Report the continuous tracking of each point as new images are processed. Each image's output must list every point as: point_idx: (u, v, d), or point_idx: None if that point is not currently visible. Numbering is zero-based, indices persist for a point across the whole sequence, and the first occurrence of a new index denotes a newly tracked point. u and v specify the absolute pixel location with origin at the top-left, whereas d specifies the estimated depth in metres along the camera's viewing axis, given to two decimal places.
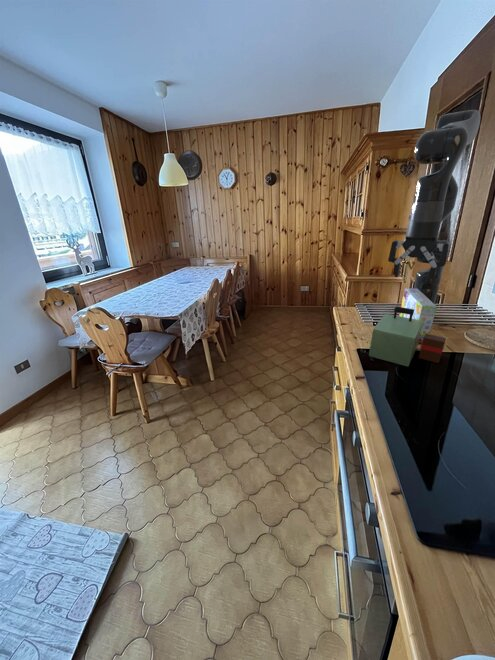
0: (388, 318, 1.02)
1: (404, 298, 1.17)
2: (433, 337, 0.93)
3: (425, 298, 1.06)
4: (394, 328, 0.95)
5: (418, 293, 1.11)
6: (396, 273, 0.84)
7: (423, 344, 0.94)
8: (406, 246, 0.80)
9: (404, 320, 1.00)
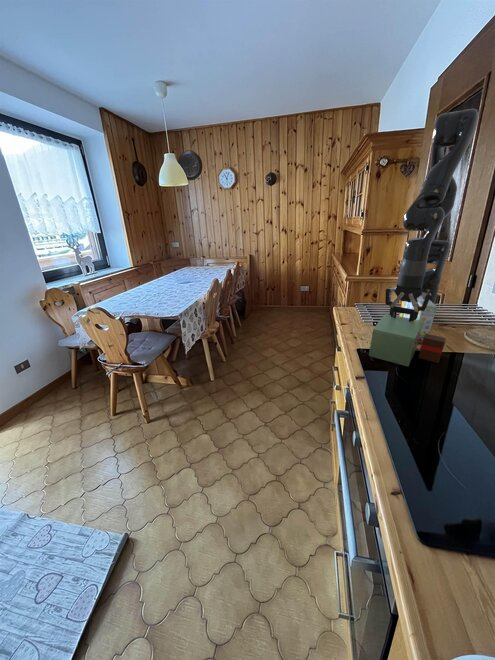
0: (388, 318, 1.02)
1: None
2: (433, 337, 0.93)
3: None
4: (394, 328, 0.95)
5: None
6: (392, 314, 1.01)
7: (423, 344, 0.94)
8: (397, 292, 0.97)
9: (404, 320, 1.00)
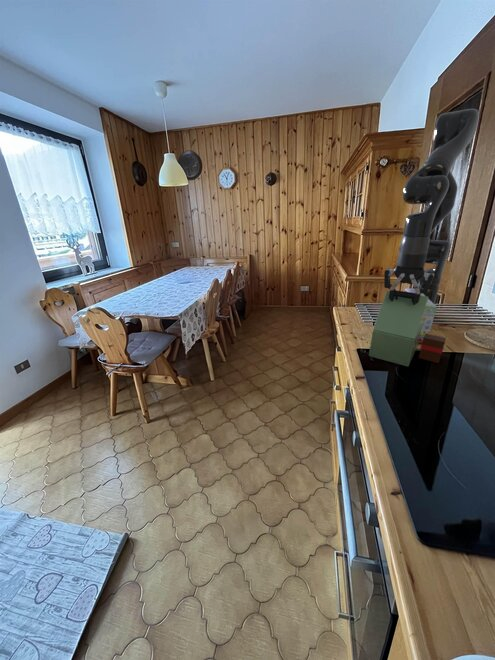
0: (390, 302, 0.96)
1: None
2: (433, 337, 0.93)
3: None
4: (394, 323, 0.93)
5: None
6: (391, 298, 0.93)
7: (423, 344, 0.94)
8: (397, 273, 0.89)
9: (406, 302, 0.94)
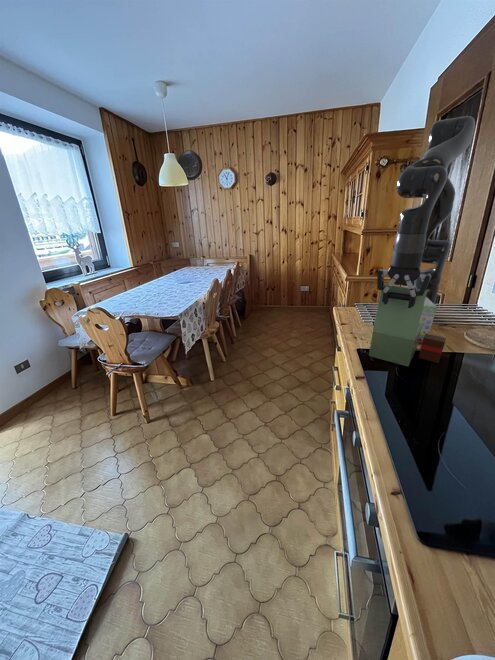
0: None
1: None
2: (433, 337, 0.93)
3: (425, 298, 1.06)
4: (393, 322, 0.91)
5: None
6: (385, 301, 0.86)
7: (423, 344, 0.94)
8: (391, 274, 0.82)
9: None
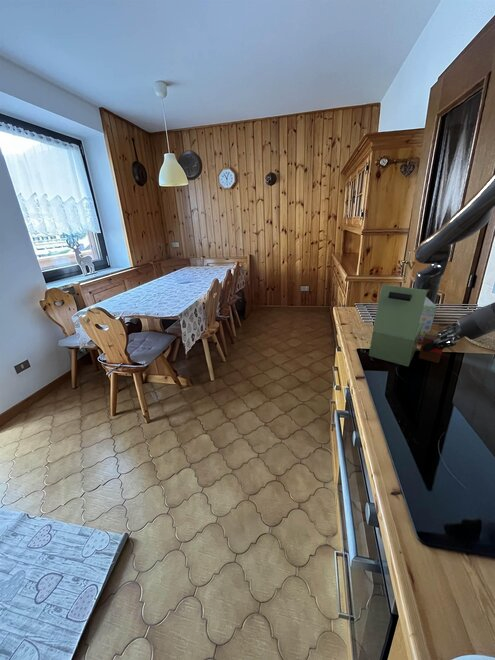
0: (386, 298, 0.91)
1: None
2: (433, 337, 0.93)
3: (425, 298, 1.06)
4: (393, 322, 0.91)
5: None
6: None
7: (423, 344, 0.94)
8: None
9: None
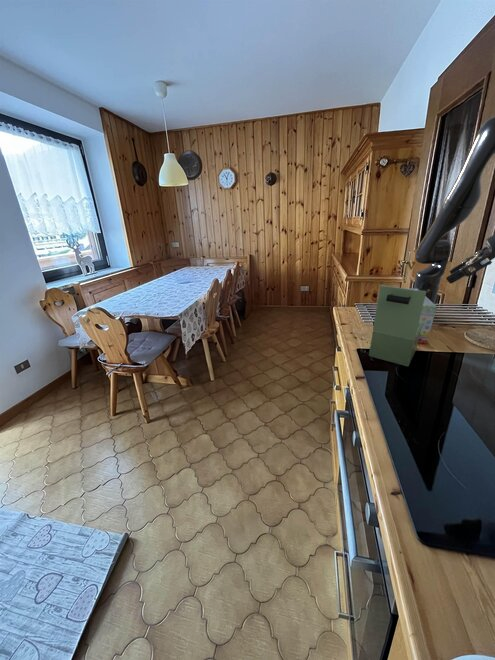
0: (385, 300, 0.89)
1: None
2: None
3: (425, 298, 1.06)
4: (393, 323, 0.90)
5: None
6: None
7: None
8: None
9: None
